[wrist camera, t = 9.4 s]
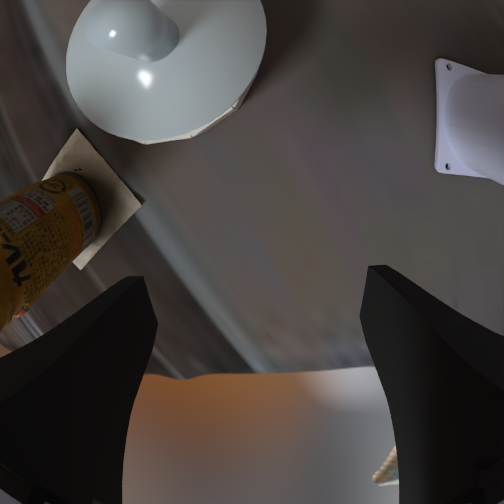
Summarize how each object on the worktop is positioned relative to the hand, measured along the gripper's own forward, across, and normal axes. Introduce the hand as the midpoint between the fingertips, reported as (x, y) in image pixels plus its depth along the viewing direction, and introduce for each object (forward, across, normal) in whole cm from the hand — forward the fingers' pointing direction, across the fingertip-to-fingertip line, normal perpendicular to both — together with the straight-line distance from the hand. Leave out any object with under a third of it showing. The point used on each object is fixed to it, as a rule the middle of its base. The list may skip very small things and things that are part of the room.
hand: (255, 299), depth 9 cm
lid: (+6, +4, -10) cm, 12 cm away
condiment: (+10, +13, -1) cm, 17 cm away
